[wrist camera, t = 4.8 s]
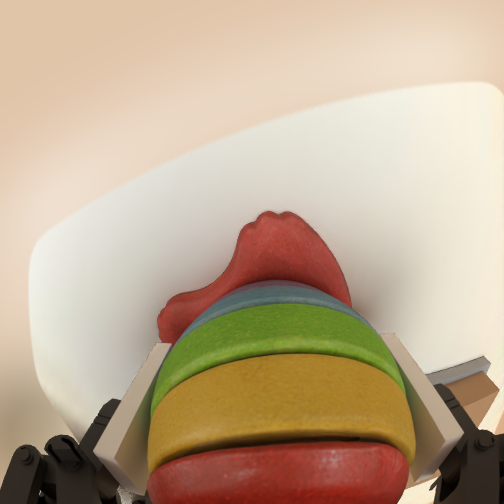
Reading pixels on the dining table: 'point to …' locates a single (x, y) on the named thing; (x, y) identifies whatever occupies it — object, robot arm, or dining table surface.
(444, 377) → the board
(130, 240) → the dining table surface
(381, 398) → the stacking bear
